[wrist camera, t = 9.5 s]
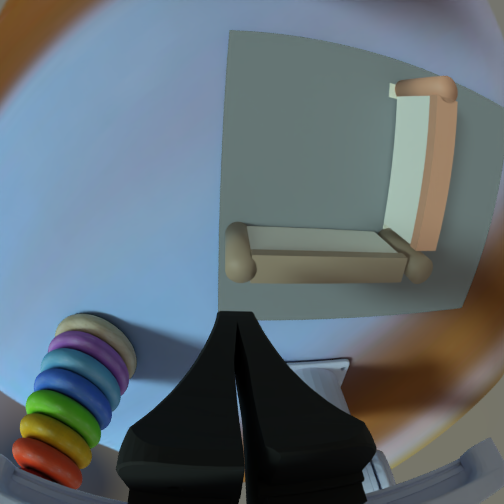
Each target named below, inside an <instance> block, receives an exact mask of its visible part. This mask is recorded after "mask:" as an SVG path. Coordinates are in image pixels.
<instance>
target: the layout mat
mask: <svg viewBox="0 0 504 504" xmlns="http://www.w3.org/2000/svg"><path fill="white" fill-rule="evenodd" d="M435 76H439V75H437V74H434V73H432V72H429V71H427V70H424V69H421V68H419V67H416V66H413V65H411V64H408V63H405V62H402V61H399V60H396V59H393V58H390V57H386V56H383V55H380V54H376V53H373V52H369V51H365V50H362V49H358V48H354V47H350V46H345V45H341V44H336V43H332V42H327V41H322V40H316V39H310V38H304V37H298V36H291V35H283V34H274V33H264V32H252V31H235V30H230V31H229V44H228V57H227V70H226V85H225V101H224V119H223V138H222V160H221V186H220V219H219V273H218V312H219V311H252V312H253V313H254V314H255V317H256V319H257V320H309V319H335V318H355V317H371V316H385V315H397V314H409V313H419V312H429V311H438V310H447V309H455V308H462V305H463V303H464V301H465V298H466V296H467V293H468V291H469V288H470V286H471V283H472V280H473V278H474V275H475V272H476V269H477V266H478V263H479V260H480V257H481V254H482V251H483V248H484V245H485V241H486V238H487V235H488V231H489V227H490V224H491V220H492V216H493V212H494V208H495V203H496V199H497V194H498V189H499V184H500V178H501V173H502V166H503V160H504V108H503V107H501V106H500V105H498V104H496V103H494V102H493V101H491V100H489V99H487V98H485V97H483V96H482V95H480V94H478V93H476V92H474V91H472V90H470V89H468V88H466V87H464V86H461V85H459V84H457V83H455V84H456V86H457V90H458V96H457V99H456V101H457V102H458V104H457V124H456V136H455V147H454V156H453V164H452V171H451V178H450V185H449V191H448V196H447V202H446V207H445V212H444V217H443V222H442V226H441V231H440V235H439V239H438V243H437V247H436V251H421V252H422V253H423V254H424V255H426V256H427V257H428V258H429V259H430V260H431V261H432V263H433V270H432V273H431V275H430V276H429V278H428V279H427V280H426V281H424V282H423V283H421V284H414V283H412V282H411V281H410V280H409V278H408V277H407V276H406V275H405V274H403V277H402V280H401V282H396V283H337V284H268V283H250V281H248V282H246V283H236V282H233V281H232V280H230V279H229V278H228V277H227V275H226V272H225V232H226V229H227V227H228V226H229V225H230V224H231V223H233V222H242V223H244V224H246V225H247V226H262V227H290V228H314V229H335V230H355V231H373V232H375V233H376V234H378V233H379V232H380V231H381V230H382V229H386V228H389V227H388V226H387V225H385V224H384V218H385V212H386V205H387V199H388V192H389V185H390V177H391V169H392V160H393V150H394V139H395V126H396V110H397V96H396V93H395V85H396V83H397V82H398V81H400V80H406V79H415V78H424V77H435Z"/></svg>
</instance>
